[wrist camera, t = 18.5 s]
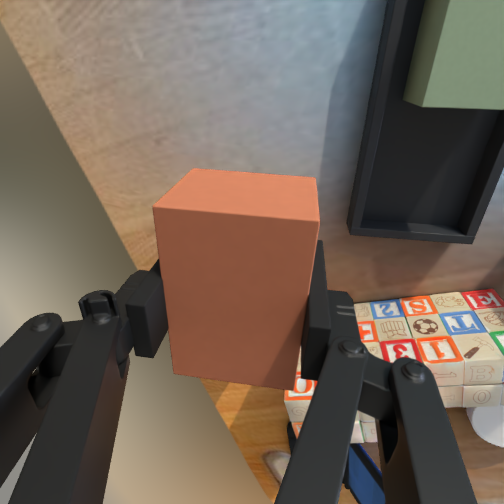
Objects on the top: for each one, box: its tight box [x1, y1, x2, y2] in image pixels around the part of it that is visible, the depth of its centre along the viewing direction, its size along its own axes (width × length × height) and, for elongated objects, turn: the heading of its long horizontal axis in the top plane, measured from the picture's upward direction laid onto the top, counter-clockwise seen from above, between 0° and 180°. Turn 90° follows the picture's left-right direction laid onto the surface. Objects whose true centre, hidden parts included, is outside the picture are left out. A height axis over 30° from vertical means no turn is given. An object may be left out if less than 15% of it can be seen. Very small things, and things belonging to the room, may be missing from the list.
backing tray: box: [347, 0, 504, 244], centre depth 25 cm, size 23×11×3 cm, turn 179°
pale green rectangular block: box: [402, 0, 504, 110], centre depth 21 cm, size 9×6×5 cm, turn 179°
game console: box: [287, 421, 386, 504], centre depth 47 cm, size 16×13×9 cm
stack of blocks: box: [284, 289, 504, 443], centre depth 32 cm, size 21×6×12 cm, turn 105°
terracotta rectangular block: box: [153, 168, 320, 391], centre depth 16 cm, size 9×6×5 cm, turn 178°
